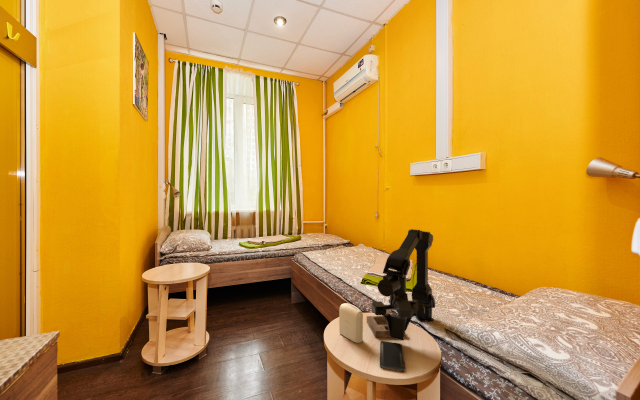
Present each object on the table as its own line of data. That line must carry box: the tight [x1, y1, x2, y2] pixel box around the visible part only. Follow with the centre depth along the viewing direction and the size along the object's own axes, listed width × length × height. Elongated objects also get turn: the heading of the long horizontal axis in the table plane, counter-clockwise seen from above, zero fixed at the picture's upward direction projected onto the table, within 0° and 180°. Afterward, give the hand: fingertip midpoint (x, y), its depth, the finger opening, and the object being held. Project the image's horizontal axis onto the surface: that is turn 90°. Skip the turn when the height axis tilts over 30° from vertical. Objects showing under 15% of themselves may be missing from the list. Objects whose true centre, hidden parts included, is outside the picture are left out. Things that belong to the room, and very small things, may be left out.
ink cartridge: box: [389, 313, 405, 341], centre depth 94 cm, size 5×2×8 cm, turn 66°
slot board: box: [365, 315, 406, 339], centre depth 104 cm, size 12×12×2 cm
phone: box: [379, 340, 406, 373], centre depth 86 cm, size 8×1×15 cm
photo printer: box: [338, 302, 364, 344], centre depth 98 cm, size 10×4×12 cm, turn 39°
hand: (397, 330), depth 94 cm, fingers closed on ink cartridge, 5 cm apart
